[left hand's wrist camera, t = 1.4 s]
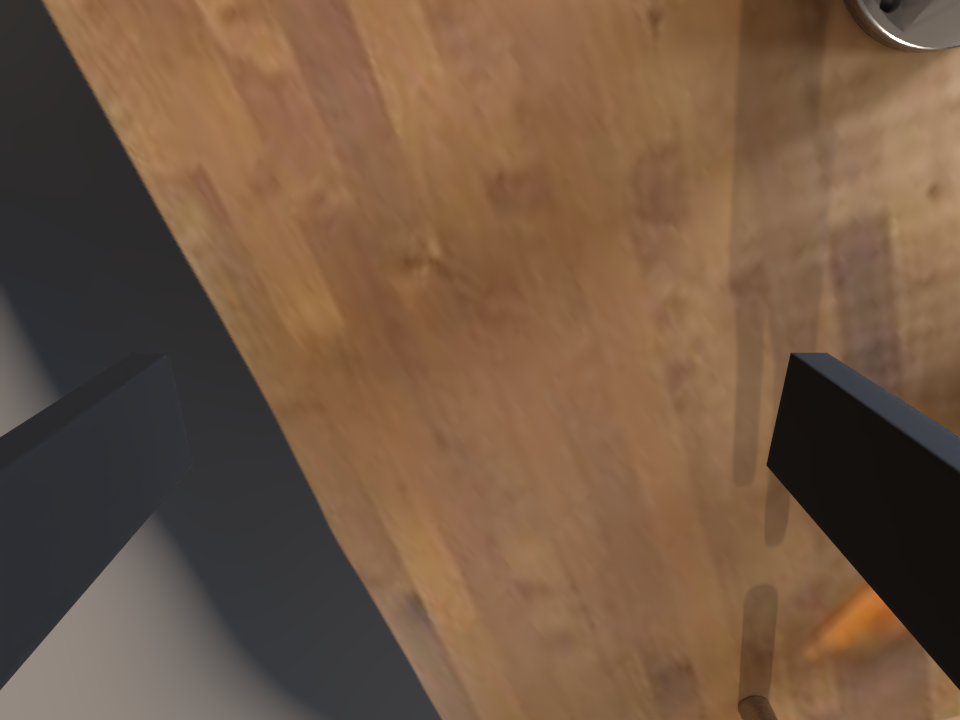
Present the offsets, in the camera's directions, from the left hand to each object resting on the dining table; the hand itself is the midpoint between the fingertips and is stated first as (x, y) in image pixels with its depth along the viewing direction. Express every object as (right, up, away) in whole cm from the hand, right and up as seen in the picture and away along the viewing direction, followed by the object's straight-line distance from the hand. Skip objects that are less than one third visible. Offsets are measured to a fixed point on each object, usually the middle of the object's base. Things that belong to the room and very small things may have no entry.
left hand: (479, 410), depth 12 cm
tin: (+32, -40, +55) cm, 75 cm away
